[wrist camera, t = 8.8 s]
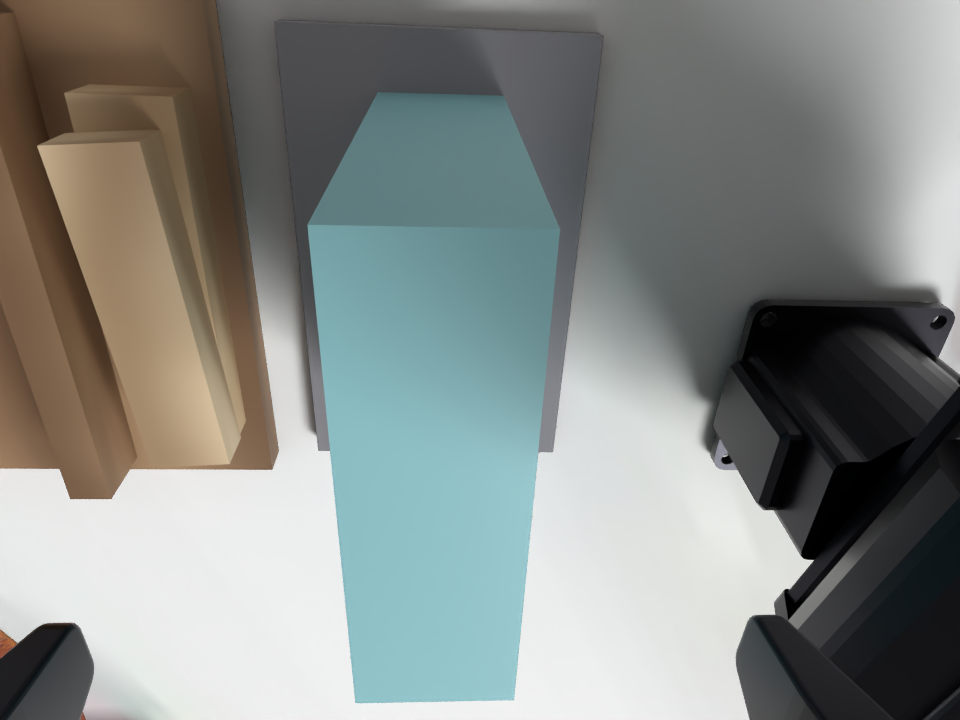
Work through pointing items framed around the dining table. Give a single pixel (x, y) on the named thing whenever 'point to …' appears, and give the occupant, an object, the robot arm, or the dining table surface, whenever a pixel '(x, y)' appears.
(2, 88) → the walnut rack
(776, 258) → the dining table surface
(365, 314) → the teal panel
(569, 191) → the grey rubber mat
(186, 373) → the oak offcut slats
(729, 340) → the dining table surface
